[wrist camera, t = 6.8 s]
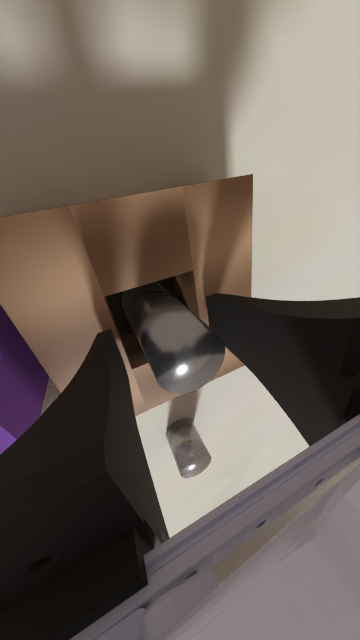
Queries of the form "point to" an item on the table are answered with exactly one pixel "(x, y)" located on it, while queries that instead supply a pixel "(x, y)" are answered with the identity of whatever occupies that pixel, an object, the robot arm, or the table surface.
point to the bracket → (18, 383)
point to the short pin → (187, 448)
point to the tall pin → (173, 339)
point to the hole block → (122, 270)
